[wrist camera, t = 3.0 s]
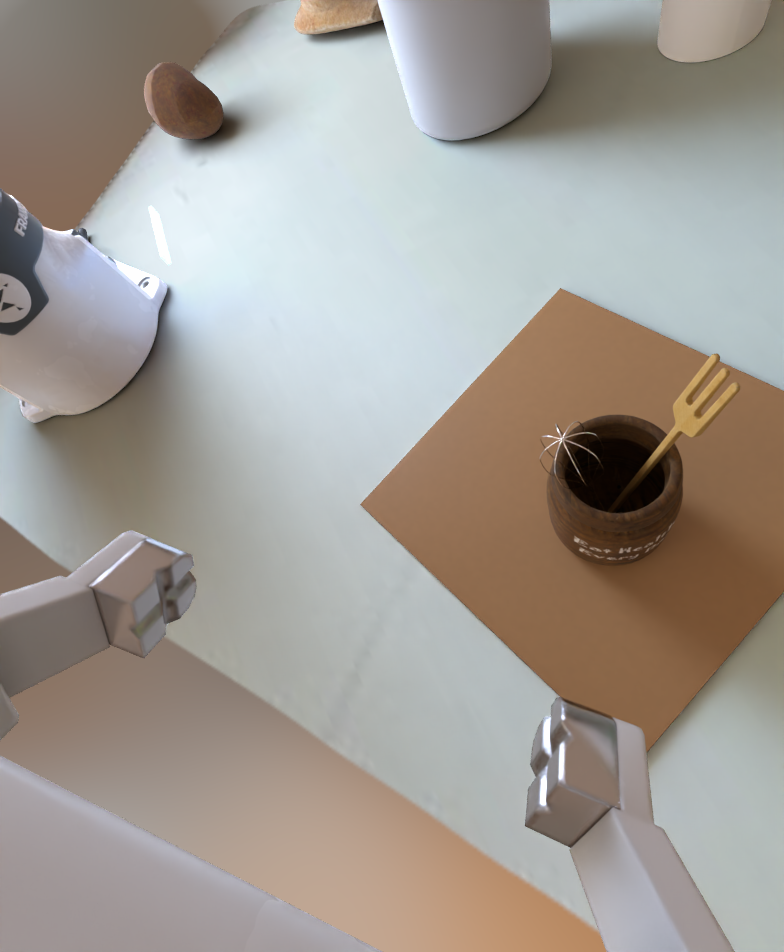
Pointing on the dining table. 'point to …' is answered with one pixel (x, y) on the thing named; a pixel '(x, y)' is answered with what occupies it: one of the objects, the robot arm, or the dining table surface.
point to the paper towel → (550, 562)
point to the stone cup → (335, 15)
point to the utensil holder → (626, 476)
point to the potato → (181, 103)
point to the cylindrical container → (708, 27)
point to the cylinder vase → (469, 61)
